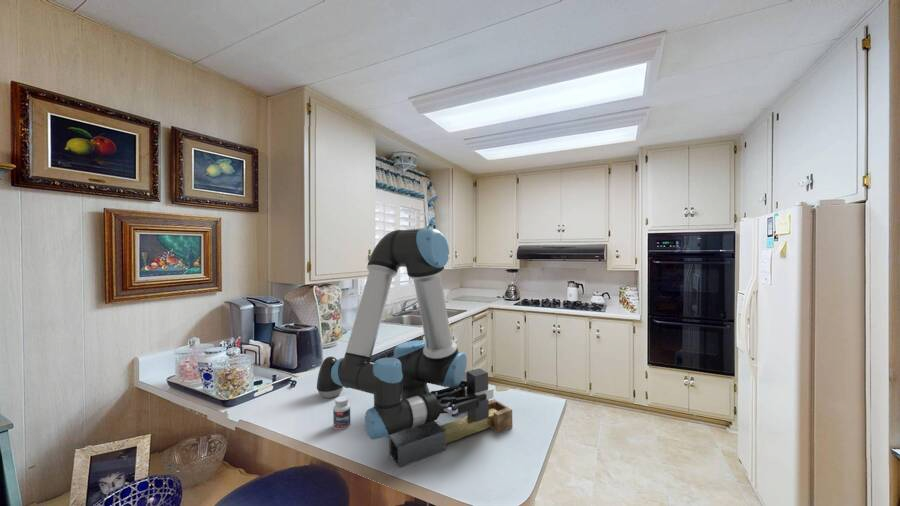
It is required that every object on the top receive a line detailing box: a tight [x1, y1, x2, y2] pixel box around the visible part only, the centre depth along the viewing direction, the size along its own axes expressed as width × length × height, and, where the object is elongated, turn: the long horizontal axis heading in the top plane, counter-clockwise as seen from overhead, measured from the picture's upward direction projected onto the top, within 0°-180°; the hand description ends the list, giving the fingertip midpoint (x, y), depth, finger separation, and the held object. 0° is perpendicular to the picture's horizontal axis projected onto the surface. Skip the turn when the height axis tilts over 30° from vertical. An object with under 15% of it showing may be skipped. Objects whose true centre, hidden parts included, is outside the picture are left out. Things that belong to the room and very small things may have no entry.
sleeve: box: [388, 420, 447, 468], centre depth 94 cm, size 14×7×6 cm, turn 121°
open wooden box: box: [489, 398, 514, 434], centre depth 109 cm, size 6×9×6 cm, turn 31°
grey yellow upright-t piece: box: [439, 368, 497, 444], centre depth 102 cm, size 24×4×17 cm, turn 121°
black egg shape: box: [316, 356, 344, 399], centre depth 132 cm, size 10×10×15 cm
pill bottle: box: [332, 395, 351, 431], centre depth 109 cm, size 5×5×9 cm
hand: (487, 389), depth 107 cm, fingers closed on grey yellow upright-t piece, 5 cm apart
